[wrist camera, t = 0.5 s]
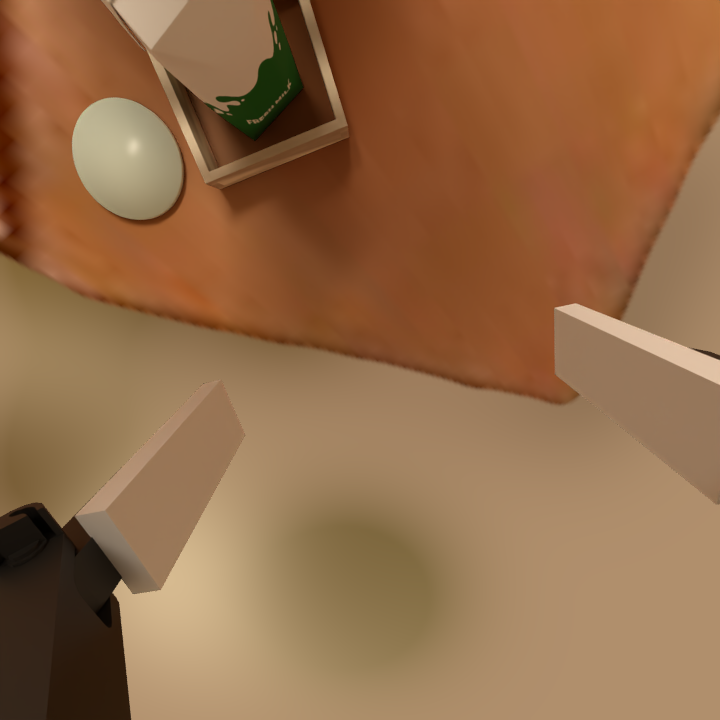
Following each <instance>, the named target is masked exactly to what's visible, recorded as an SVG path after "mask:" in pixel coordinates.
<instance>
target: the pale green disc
mask: <svg viewBox="0 0 720 720" xmlns="http://www.w3.org/2000/svg"><path fill="white" fill-rule="evenodd" d="M72 152H73V159H74V163H75V167H76V170H77V172H78V175H79V177H80V179H81V181H82V183H83V184H84V186H85V188H86V189H87V190H88V192H89V193H90V194H91V195H92V197H93V198H94V199H95V200H96V201H97V202H98V203H100V204H101V205H102V206H103V207H105V208H106V209H107V210H109V211H111V212H112V213H114V214H116V215H119V216H121V217H125V218H128V219H136V220H148V219H153V218H156V217H159V216H161V215H163V214H164V213H166V212H167V211H168V210H169V209H170V208H171V207H172V206H173V205H174V204H175V202H176V201H177V199H178V197H179V196H180V193H181V190H182V186H183V182H184V164H183V158H182V154H181V151H180V148H179V146H178V143H177V141H176V139H175V137H174V135H173V134H172V132H171V131H170V129H169V128H168V127H167V125H166V124H165V123H164V122H163V121H162V120H161V119H160V118H159V117H158V116H157V115H156V114H155V113H153V112H152V111H151V110H149V109H148V108H146V107H144V106H143V105H141V104H139V103H137V102H134V101H132V100H128V99H125V98H106V99H102V100H99V101H97V102H95V103H93V104H91V105H90V106H89V107H88V108H86V109H85V111H84V112H83V113H82V114H81V116H80V117H79V119H78V121H77V123H76V126H75V128H74V132H73V139H72Z"/></svg>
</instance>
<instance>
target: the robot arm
mask: <svg viewBox="0 0 720 720" xmlns="http://www.w3.org/2000/svg"><path fill="white" fill-rule="evenodd" d="M554 326H555V375H557V376H558V377H559V378H560V379H562V380H563V381H564V382H565V383H567V384H568V385H569V386H570V387H571V388H573V389H574V390H575V391H576V392H578V393H579V394H580V395H581V396H583V397H584V398H585V399H586V400H588V401H589V402H590V403H591V404H593V405H594V406H595V407H596V408H598V409H599V410H600V411H601V412H602V413H604V414H605V415H606V416H608V417H609V418H610V419H611V420H612V421H614V422H615V423H616V424H617V425H619V426H620V427H621V428H622V429H624V430H625V431H626V432H627V433H628V434H630V435H631V436H632V437H633V438H635V439H636V440H637V441H639V442H640V443H641V444H642V445H643V446H645V447H646V448H647V449H648V450H650V451H651V452H652V453H653V454H655V455H656V456H657V457H658V458H659V459H661V460H662V461H663V462H664V463H666V464H667V465H668V466H669V467H671V468H672V469H673V470H674V471H676V472H677V473H678V474H679V475H680V476H682V477H683V478H684V479H685V480H687V481H688V482H689V483H690V484H692V485H693V486H694V487H695V488H697V489H698V490H699V491H700V492H702V493H703V494H704V495H705V496H707V497H708V498H709V499H710V500H711V501H713V502H714V503H715V504H720V355H717V354H715V353H712V352H708V351H703V350H698V349H693V348H688V347H685V346H682V345H680V344H677V343H675V342H672V341H670V340H667V339H665V338H662V337H659V336H657V335H654V334H652V333H649V332H647V331H644V330H642V329H639V328H637V327H634V326H632V325H629V324H627V323H624V322H622V321H619V320H616V319H614V318H611V317H609V316H606V315H604V314H601V313H599V312H596V311H594V310H591V309H589V308H586V307H584V306H581V305H579V304H576V303H575V304H571V305H566V306H561V307H557V308H554ZM244 436H245V433H244V431H243V429H242V426H241V424H240V422H239V420H238V417H237V415H236V413H235V410H234V408H233V406H232V404H231V401H230V399H229V397H228V394H227V392H226V390H225V388H224V385H223V383H222V381H221V380H217V381H213V382H208V383H203V385H201V386H200V388H199V389H198V390H197V391H196V392H195V393H194V394H193V395H192V396H191V397H190V398H189V399H188V400H187V401H186V402H185V403H184V404H183V405H182V406H181V407H180V408H179V409H178V410H177V411H176V412H175V413H174V414H173V415H172V416H171V418H169V420H167V422H166V423H164V425H163V426H162V427H161V428H160V429H159V430H158V431H157V432H156V433H155V434H154V435H153V436H152V437H151V438H150V439H149V440H148V441H147V442H146V443H145V444H144V445H143V446H142V447H141V448H140V449H139V450H138V451H137V452H136V453H135V454H134V455H133V456H132V457H131V459H129V460H128V462H127V463H126V464H125V465H124V466H123V467H121V468H120V469H119V470H118V472H116V473H115V475H114V476H113V477H112V478H111V479H110V480H109V481H108V482H107V483H106V484H105V485H104V486H103V487H102V488H101V489H100V490H99V491H98V493H96V494H95V495H94V496H93V497H92V498H91V499H90V500H89V501H88V502H87V503H86V504H85V505H84V506H83V507H82V508H81V509H80V510H79V511H78V512H77V514H75V515H74V517H73V518H72V519H71V520H70V521H69V522H68V523H67V524H66V525H65V526H64V527H63V528H61V527H60V526H59V524H58V523H57V522H56V520H55V519H54V518H53V517H52V515H51V514H50V513H49V512H48V510H47V509H46V508H45V507H44V505H43V504H42V503H31V504H28V505H24V506H22V507H20V508H17V509H15V510H13V511H10V512H9V513H7V514H5V515H3V516H2V517H0V720H131V714H130V705H129V695H128V685H127V675H126V665H125V656H124V647H123V636H122V627H121V617H120V607H119V602H118V601H117V598H116V597H115V596H114V594H113V593H112V592H113V590H114V589H115V588H116V586H117V585H118V583H119V581H120V580H121V579H122V580H123V581H124V583H125V584H126V585H127V587H128V588H129V589H130V590H131V592H132V593H133V594H137V593H144V592H150V591H157V590H161V588H162V586H163V585H164V583H165V581H166V579H167V577H168V575H169V573H170V571H171V570H172V568H173V566H174V564H175V563H176V560H177V559H178V557H179V555H180V553H181V552H182V550H183V548H184V546H185V544H186V542H187V541H188V539H189V537H190V535H191V533H192V531H193V530H194V528H195V526H196V524H197V522H198V520H199V518H200V517H201V515H202V513H203V511H204V509H205V508H206V506H207V504H208V502H209V500H210V499H211V497H212V495H213V493H214V491H215V489H216V488H217V486H218V484H219V482H220V480H221V478H222V476H223V475H224V473H225V471H226V469H227V468H228V466H229V464H230V462H231V460H232V458H233V456H234V455H235V453H236V451H237V449H238V447H239V446H240V444H241V442H242V440H243V438H244Z"/></svg>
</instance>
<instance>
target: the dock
mask: <svg viewBox="0 0 720 720" xmlns="http://www.w3.org/2000/svg"><path fill="white" fill-rule="evenodd" d="M298 2H299V5H300V8H301V11H302V15H303V18H304V21H305V24H306V27H307V31H308V34H309V37H310V40H311V43H312V46H313V50H314V53H315V56H316V59H317V62H318V66H319V69H320V72H321V75H322V78H323V82H324V85H325V88H326V91H327V94H328V98H329V101H330V104H331V107H332V110H333V113H334V117H335V120H333V121H331V122H328V123H326V124H323V125H321V126H319V127H316V128H314V129H311V130H309V131H306V132H304V133H302V134H299V135H297V136H294V137H292V138H290V139H287V140H285V141H282V142H280V143H277V144H275V145H273V146H270V147H268V148H265V149H263V150H261V151H258V152H256V153H253V154H251V155H248V156H246V157H244V158H241V159H239V160H236V161H234V162H232V163H229V164H227V165H224V166H222V167H218V164H217V162H216V160H215V157H214V155H213V153H212V150H211V148H210V146H209V143H208V141H207V139H206V136H205V134H204V131H203V129H202V127H201V124H200V122H199V120H198V117H197V115H196V113H195V110H194V108H193V106H192V103H191V101H190V98H189V96H188V94H187V91H186V89H185V87H184V85H183V84H182V83H181V82H180V81H179V80H178V79H177V78H176V77H174V76H173V75H172V74H171V73H170V72H169V71H168V70H167V69H166V68H164V67H163V66H162V65H161V64H160V63H159V62H158V61H157V60H156V59H155V58H154V57H153V56H152V55H151V54H150V53H149V51H148V50H147V49H146V50H147V52H148V54H149V57H150V59H151V61H152V64H153V66H154V68H155V70H156V73H157V75H158V77H159V79H160V82H161V84H162V86H163V88H164V91H165V93H166V95H167V98H168V100H169V102H170V104H171V107H172V109H173V111H174V113H175V116H176V118H177V120H178V122H179V125H180V127H181V129H182V132H183V134H184V136H185V138H186V141H187V143H188V145H189V147H190V150H191V152H192V154H193V157H194V159H195V161H196V163H197V166H198V168H199V170H200V172H201V175H202V177H203V179H204V181H205V184H208V185H210V186H213V187H215V188H218V189H222V188H225V187H227V186H230V185H232V184H235V183H237V182H240V181H242V180H245V179H247V178H250V177H252V176H254V175H257V174H259V173H262V172H264V171H267V170H269V169H272V168H274V167H277V166H279V165H282V164H284V163H287V162H289V161H291V160H294V159H296V158H299V157H301V156H304V155H306V154H309V153H311V152H314V151H316V150H319V149H321V148H323V147H326V146H328V145H331V144H333V143H336V142H338V141H341V140H343V139H346V138H348V137H349V132H348V125H347V122H346V118H345V115H344V112H343V108H342V105H341V102H340V99H339V95H338V92H337V89H336V86H335V82H334V79H333V76H332V72H331V69H330V66H329V63H328V59H327V56H326V53H325V49H324V46H323V43H322V40H321V36H320V33H319V30H318V27H317V23H316V20H315V17H314V13H313V10H312V7H311V4H310V0H298Z"/></svg>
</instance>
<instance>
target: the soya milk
mask: <svg viewBox="0 0 720 720" xmlns="http://www.w3.org/2000/svg"><path fill="white" fill-rule="evenodd" d="M101 1H102V2H103V3H104V4H105V6H106V7H107V8H108V9H109V10H110V12H111V13H112V14H113V15H114V17H115V18H116V19H117V20H118V22H119V23H120V24H121V25H122V27H123V28H124V29H125V30H126V31H127V32H128V34H129V35H130V36H131V37H132V38H133V39H134V41H135V42H136V43H137V44H138V45H139V46H140V47H141V48H142V49H143V50H144V51H145V49H144V48H143V47H142V46H141V45H140V44H139V42H138V41H137V40H136V39H135V38H134V36H133V35H132V34H131V33H130V32H129V31H128V29H127V28H126V27H125V25H124V24H123V22H122V21H121V19H122V20H123V21H124V22H125V24H126V25H127V26H128V27H129V28H130V30H131V31H132V32H133V33H134V35H135V36H136V37H137V38H138V39H139V41H140V42H141V43H142V44H143V46H144V47H145V48H146V49H147V50H148V51H149V53H150V54H151V55H152V56H153V57H154V58H155V59H156V60H157V61H158V62H159V63H160V64H161V65H162V66H163V67H164V68H166V69H167V70H168V71H169V72H170V73H171V74H172V75H173V76H174V77H176V78H177V79H178V80H179V81H180V82H181V83H182V84H183V85H185V86H186V87H187V88H188V89H189V90H190V91H191V92H192V93H194V94H195V95H196V96H197V97H198V98H199V99H200V100H201V101H203V102H204V103H205V104H206V105H207V106H208V107H210V108H211V109H212V110H213V111H215V112H216V113H217V114H219V115H220V116H221V117H223V118H224V119H225V120H227V121H228V122H229V123H231V124H232V125H234V126H235V127H236V128H238V129H239V130H240V131H242V132H243V133H245V134H246V135H247V136H249V137H250V138H251V139H253V140H254V141H255V140H256V139H257V138H258V137H259V136H260V135H261V134H262V133H263V132H264V130H265V129H266V128H267V127H268V126H269V125H270V124H271V123H272V122H273V121H274V120H275V118H276V117H277V116H278V115H279V114H280V113H281V112H282V111H283V110H284V109H285V107H286V106H287V105H288V104H289V103H290V102H291V101H292V100H293V99H294V98H295V97H296V95H297V94H298V93H299V92H300V91H301V90H302V89H303V88H304V87H303V84H302V82H301V79H300V76H299V73H298V70H297V67H296V64H295V61H294V58H293V56H292V53H291V50H290V47H289V44H288V41H287V38H286V36H285V33H284V30H283V27H282V24H281V22H280V19H279V16H278V13H277V11H276V8H275V5H274V3H273V0H101ZM115 11H116V12H115ZM117 14H118V15H119V16H120V18H121V19H120V18H119V16H118V15H117Z"/></svg>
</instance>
